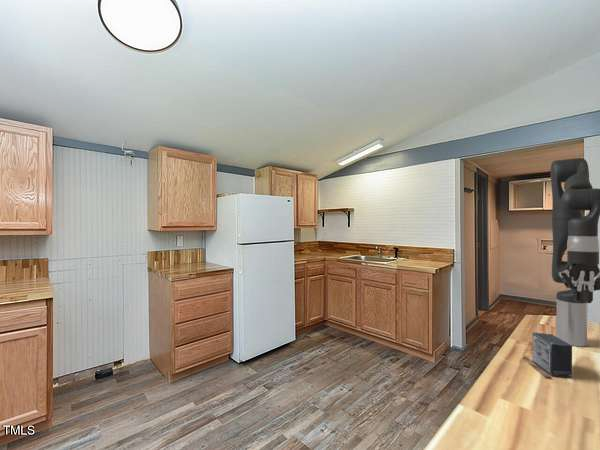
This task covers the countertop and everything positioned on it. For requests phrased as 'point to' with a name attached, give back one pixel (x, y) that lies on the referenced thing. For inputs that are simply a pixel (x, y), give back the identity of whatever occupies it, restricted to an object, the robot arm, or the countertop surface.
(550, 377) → the stop strip
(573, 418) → the countertop surface
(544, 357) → the small box
